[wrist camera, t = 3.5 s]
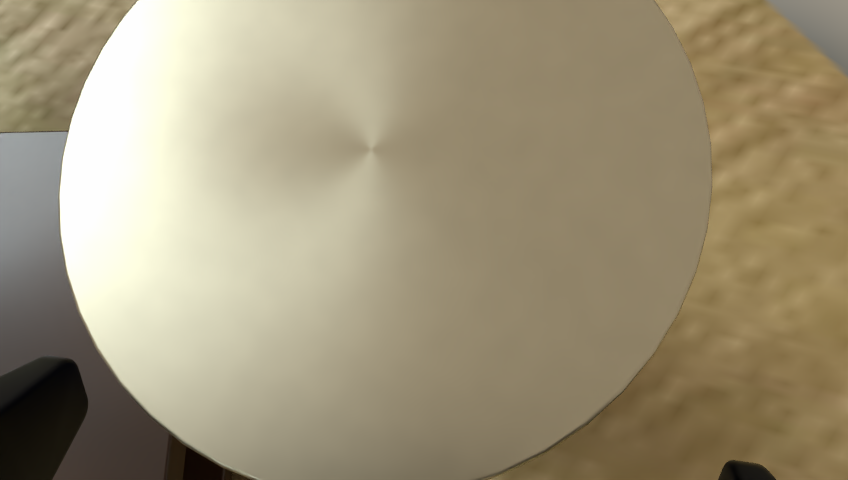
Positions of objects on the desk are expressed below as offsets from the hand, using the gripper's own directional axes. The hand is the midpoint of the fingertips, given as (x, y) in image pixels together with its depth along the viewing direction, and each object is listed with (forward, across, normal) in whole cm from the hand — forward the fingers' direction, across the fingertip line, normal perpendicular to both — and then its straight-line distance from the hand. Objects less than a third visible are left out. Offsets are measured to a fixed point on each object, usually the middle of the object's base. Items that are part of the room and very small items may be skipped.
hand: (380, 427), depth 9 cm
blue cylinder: (+10, 0, +4) cm, 11 cm away
